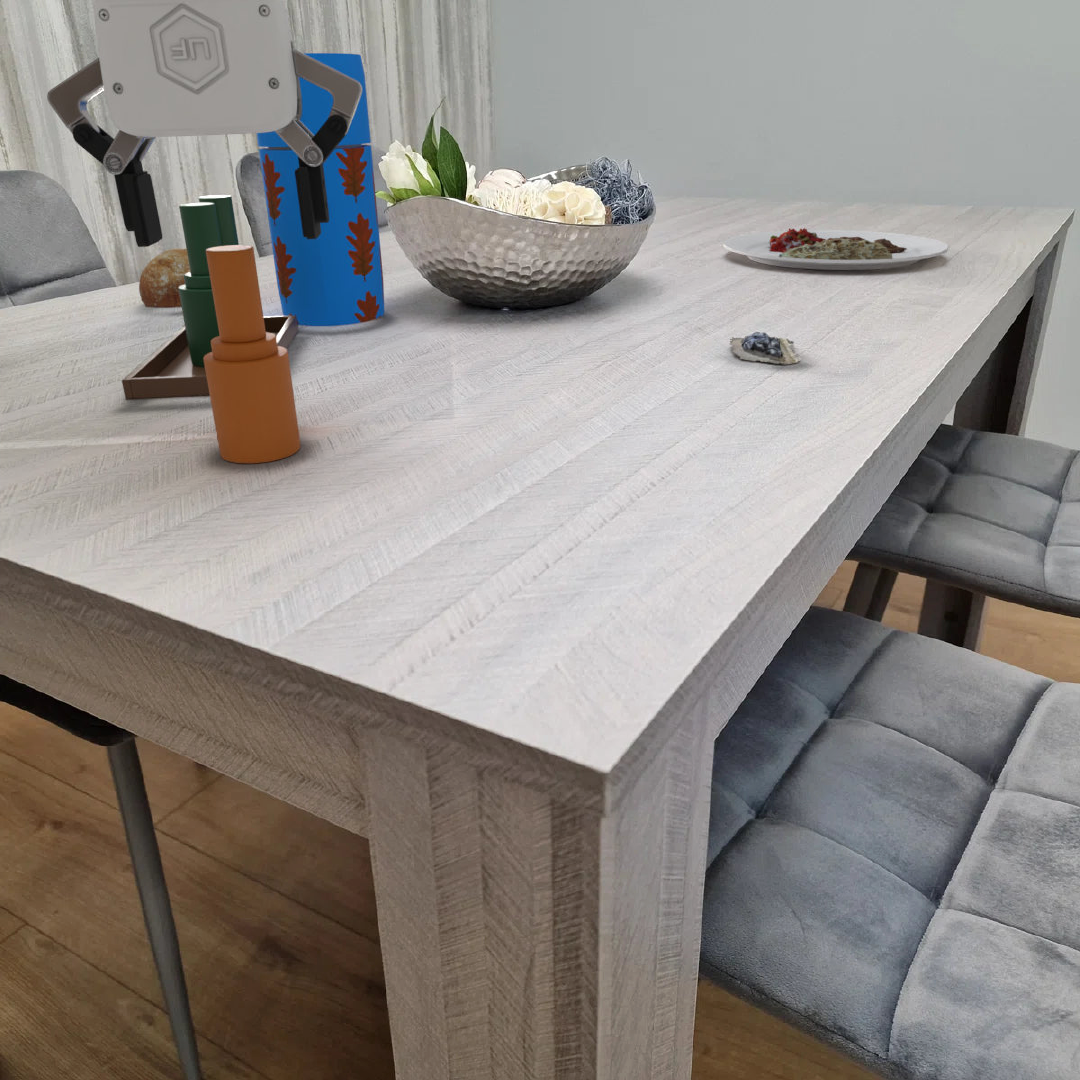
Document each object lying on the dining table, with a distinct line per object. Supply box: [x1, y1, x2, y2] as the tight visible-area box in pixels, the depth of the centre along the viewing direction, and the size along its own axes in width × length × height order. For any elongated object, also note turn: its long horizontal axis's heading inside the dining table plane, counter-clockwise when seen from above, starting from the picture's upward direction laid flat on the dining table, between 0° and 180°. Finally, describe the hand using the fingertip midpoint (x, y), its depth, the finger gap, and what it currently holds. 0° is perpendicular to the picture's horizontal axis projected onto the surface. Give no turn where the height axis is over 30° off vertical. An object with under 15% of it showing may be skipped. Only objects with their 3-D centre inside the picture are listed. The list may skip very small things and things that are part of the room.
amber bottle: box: [203, 244, 302, 464], centre depth 60 cm, size 5×5×13 cm
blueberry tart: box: [729, 331, 802, 366], centre depth 83 cm, size 7×8×2 cm
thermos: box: [256, 52, 385, 327], centre depth 94 cm, size 11×11×25 cm
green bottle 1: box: [198, 194, 240, 246], centre depth 86 cm, size 5×5×13 cm
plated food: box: [723, 227, 949, 271], centre depth 131 cm, size 30×30×3 cm
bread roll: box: [138, 247, 190, 309], centre depth 109 cm, size 10×10×8 cm
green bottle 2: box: [178, 202, 221, 367], centre depth 80 cm, size 5×5×13 cm
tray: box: [121, 315, 299, 401], centre depth 82 cm, size 10×22×2 cm, turn 6°
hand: (232, 240), depth 57 cm, fingers open, 9 cm apart
